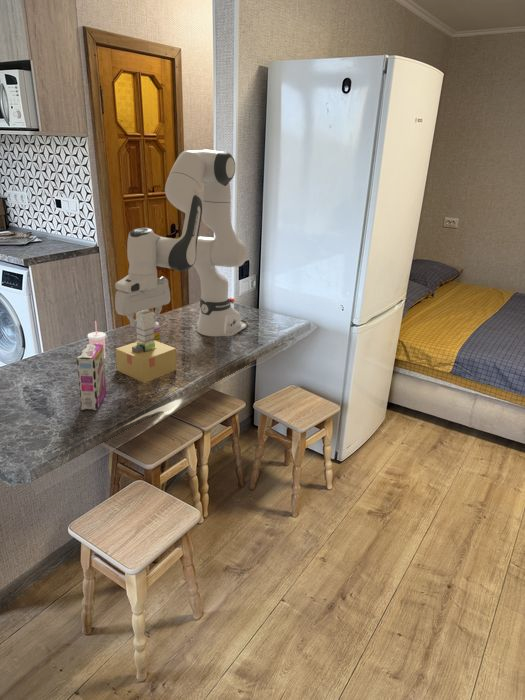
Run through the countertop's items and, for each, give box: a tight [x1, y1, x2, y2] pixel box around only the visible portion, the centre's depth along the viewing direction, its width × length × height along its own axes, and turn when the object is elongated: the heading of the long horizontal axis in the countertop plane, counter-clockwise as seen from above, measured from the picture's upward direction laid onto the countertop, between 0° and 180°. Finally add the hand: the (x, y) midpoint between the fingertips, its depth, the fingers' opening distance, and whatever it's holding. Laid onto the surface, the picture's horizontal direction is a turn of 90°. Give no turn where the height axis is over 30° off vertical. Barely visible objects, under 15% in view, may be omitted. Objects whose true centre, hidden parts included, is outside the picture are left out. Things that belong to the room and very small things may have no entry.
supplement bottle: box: [154, 319, 161, 343], centre depth 181 cm, size 7×7×13 cm
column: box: [135, 309, 155, 352], centre depth 161 cm, size 4×4×16 cm
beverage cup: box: [87, 320, 107, 360], centre depth 170 cm, size 6×6×14 cm
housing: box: [115, 340, 177, 384], centre depth 164 cm, size 14×14×10 cm
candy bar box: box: [76, 343, 107, 411], centre depth 140 cm, size 11×5×16 cm, turn 4°
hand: (145, 322), depth 159 cm, fingers open, 8 cm apart
